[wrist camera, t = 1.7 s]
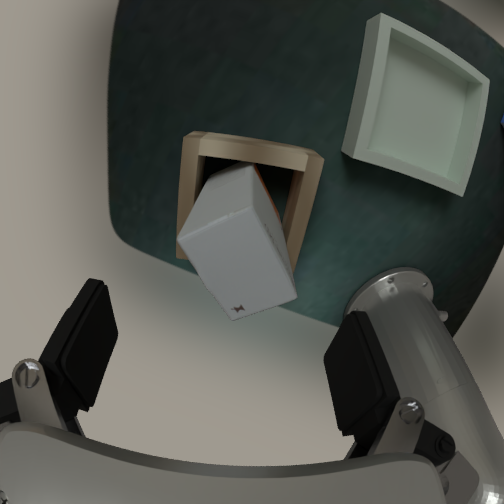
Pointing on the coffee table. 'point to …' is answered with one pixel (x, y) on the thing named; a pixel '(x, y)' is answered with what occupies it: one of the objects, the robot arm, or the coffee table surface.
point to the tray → (415, 106)
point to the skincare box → (239, 243)
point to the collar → (255, 151)
